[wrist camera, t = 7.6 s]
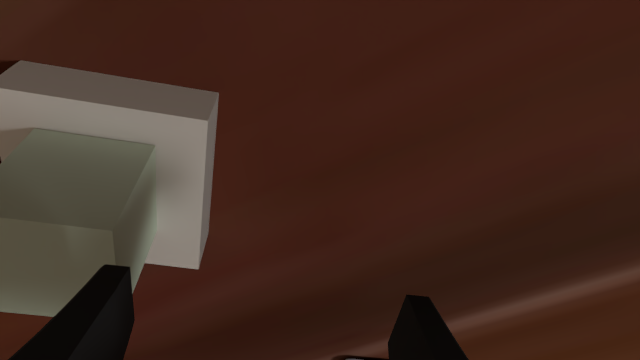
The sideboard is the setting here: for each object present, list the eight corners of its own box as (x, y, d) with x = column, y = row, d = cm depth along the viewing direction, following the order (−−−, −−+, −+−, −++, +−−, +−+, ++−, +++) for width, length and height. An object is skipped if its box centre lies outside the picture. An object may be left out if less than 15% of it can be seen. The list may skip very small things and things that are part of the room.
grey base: (209, 228, 25) (198, 269, 23) (50, 207, 24) (20, 247, 22) (220, 89, 21) (207, 120, 18) (25, 56, 20) (-16, 85, 17)
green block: (157, 230, 21) (121, 323, 17) (50, 217, 21) (-12, 310, 17) (155, 145, 19) (112, 231, 15) (34, 128, 18) (-46, 212, 14)
